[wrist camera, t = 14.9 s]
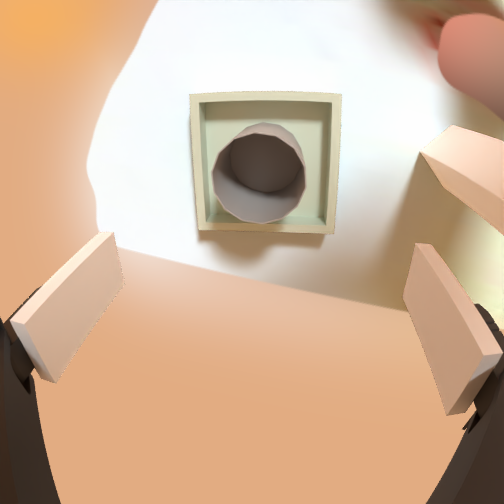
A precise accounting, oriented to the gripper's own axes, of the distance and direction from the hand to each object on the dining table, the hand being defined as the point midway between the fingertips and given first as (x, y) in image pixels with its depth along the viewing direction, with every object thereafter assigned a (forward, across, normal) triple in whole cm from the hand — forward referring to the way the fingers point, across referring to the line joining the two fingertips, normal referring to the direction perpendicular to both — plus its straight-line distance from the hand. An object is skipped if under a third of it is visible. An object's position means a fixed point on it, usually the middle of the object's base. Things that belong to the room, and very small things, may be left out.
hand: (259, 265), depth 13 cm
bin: (+27, -2, -1) cm, 27 cm away
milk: (+27, +22, +1) cm, 35 cm away
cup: (+26, -2, -1) cm, 26 cm away
